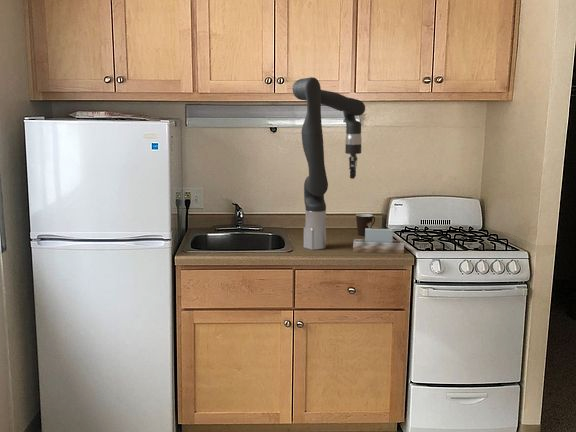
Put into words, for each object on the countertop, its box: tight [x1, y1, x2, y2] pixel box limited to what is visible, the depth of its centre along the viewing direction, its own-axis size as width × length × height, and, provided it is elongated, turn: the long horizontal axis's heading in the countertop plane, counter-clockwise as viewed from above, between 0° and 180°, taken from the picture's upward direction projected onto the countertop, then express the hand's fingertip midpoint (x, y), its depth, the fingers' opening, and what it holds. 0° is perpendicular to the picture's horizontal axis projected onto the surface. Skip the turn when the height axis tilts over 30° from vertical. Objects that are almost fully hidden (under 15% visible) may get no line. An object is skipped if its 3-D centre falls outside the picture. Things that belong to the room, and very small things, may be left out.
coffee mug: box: [355, 213, 376, 237], centre depth 290 cm, size 12×9×10 cm
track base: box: [352, 238, 405, 254], centre depth 255 cm, size 22×9×4 cm, turn 80°
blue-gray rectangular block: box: [364, 228, 394, 243], centre depth 255 cm, size 12×4×8 cm, turn 80°
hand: (352, 177), depth 275 cm, fingers open, 8 cm apart
